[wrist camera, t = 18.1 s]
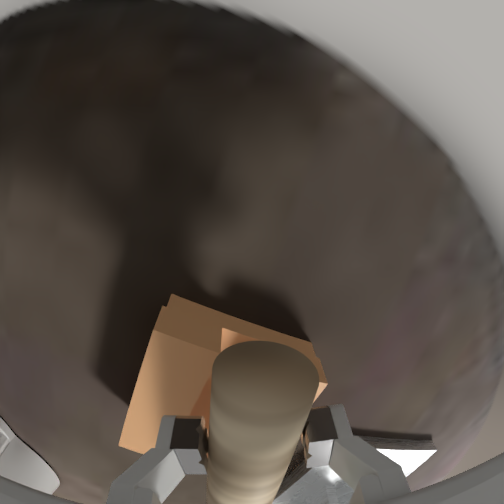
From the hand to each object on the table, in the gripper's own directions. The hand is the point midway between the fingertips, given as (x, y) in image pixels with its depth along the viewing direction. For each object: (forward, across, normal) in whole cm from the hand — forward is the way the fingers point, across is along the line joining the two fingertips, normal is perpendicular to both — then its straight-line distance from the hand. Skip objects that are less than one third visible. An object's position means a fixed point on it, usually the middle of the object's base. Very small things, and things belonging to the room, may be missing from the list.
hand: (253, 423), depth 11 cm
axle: (+1, +1, +4) cm, 4 cm away
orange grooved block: (+7, +2, +4) cm, 9 cm away
